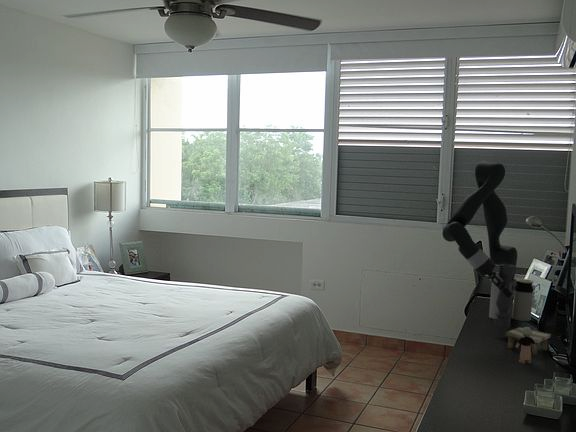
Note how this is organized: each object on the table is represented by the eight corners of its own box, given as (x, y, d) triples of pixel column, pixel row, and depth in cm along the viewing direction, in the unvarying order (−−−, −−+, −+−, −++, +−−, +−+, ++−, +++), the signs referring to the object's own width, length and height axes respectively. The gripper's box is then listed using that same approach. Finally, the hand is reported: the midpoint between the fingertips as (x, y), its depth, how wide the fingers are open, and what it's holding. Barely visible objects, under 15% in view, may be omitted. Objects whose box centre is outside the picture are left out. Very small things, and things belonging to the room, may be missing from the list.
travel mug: (533, 322, 272) (536, 282, 270) (515, 321, 272) (518, 281, 271) (526, 317, 280) (530, 279, 278) (509, 316, 280) (512, 278, 278)
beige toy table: (518, 342, 239) (519, 327, 239) (549, 349, 231) (550, 334, 230) (505, 347, 231) (506, 332, 230) (536, 355, 222) (538, 339, 222)
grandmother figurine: (528, 359, 218) (531, 324, 217) (536, 363, 214) (539, 327, 213) (511, 361, 215) (514, 326, 214) (519, 364, 211) (522, 329, 210)
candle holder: (510, 328, 242) (515, 267, 240) (493, 326, 244) (499, 265, 242) (509, 324, 248) (515, 264, 245) (493, 322, 250) (499, 263, 247)
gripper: (489, 259, 238) (519, 292, 237) (487, 254, 252) (515, 285, 250) (474, 271, 240) (504, 304, 238) (472, 265, 254) (500, 296, 252)
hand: (509, 294), depth 244 cm, fingers closed on candle holder, 4 cm apart
